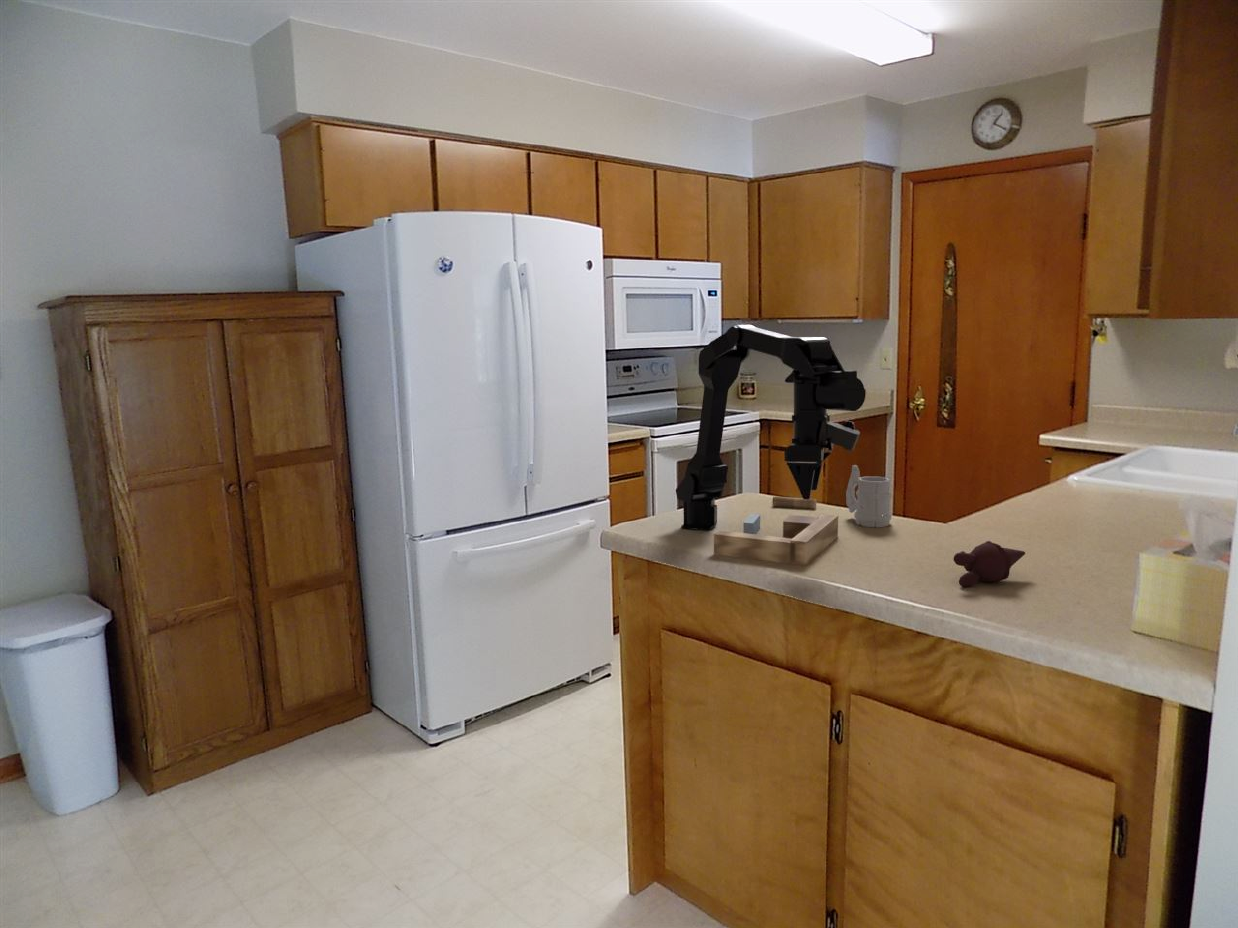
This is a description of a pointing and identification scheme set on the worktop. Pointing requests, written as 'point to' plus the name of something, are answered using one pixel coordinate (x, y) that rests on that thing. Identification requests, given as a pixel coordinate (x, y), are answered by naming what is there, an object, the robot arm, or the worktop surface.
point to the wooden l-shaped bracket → (780, 543)
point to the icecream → (986, 563)
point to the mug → (869, 499)
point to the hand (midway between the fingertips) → (810, 494)
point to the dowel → (794, 502)
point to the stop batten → (752, 524)
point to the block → (796, 525)
